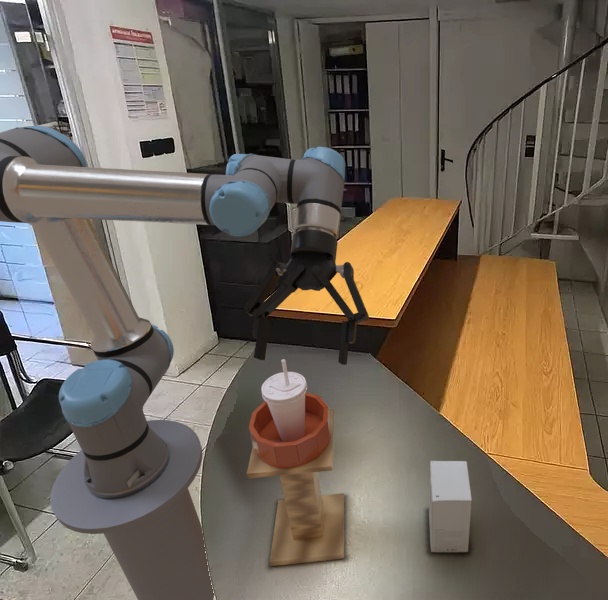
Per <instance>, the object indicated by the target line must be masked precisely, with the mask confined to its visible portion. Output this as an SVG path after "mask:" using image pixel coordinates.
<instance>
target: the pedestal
mask: <svg viewBox="0 0 608 600" xmlns="http://www.w3.org/2000/svg"><path fill="white" fill-rule="evenodd" d="M328 409H329V416H330V424H331V426H330V431H331V437H330V441H329V444H328V446H327V448H326V449H325V450H324V452H323V453H322V454H321V455H320V456H318V457H317V458H316V459H314V460H313V461H311V462H309V463H307V464H304V465H302V466H298V467H293V468H277V467H273V466H270V465H268V464H266V463H264V462H263V461H262V460H261V459H260V458H259V457H258V456H257V453H256V450H255V448H254V447H253V446H252V448H251V453H250V456H249V461H248V465H247V470H246V476H247V479H257V478H267V477H276V476H279V478H280V483H281V488H282V493H283V498H281V499H278V501H277V507H276V514H275V522H274V528H273V535H272V542H271V548H270V555H269V556H270V557H269V565H270V567H276V566H277V567H278V566H287V565H294V564H296V565H297V564H304V563H313V562H314V563H315V562H323V561H332V560H343V559H345V493H334V494H322V490H321V489H322V488H321V484H320V483H321V482H320V475H319V473H321V472H332V471H333V460H334V433H335V431H334V429H335V428H334V427H335V409H334V408H328Z"/></svg>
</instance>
